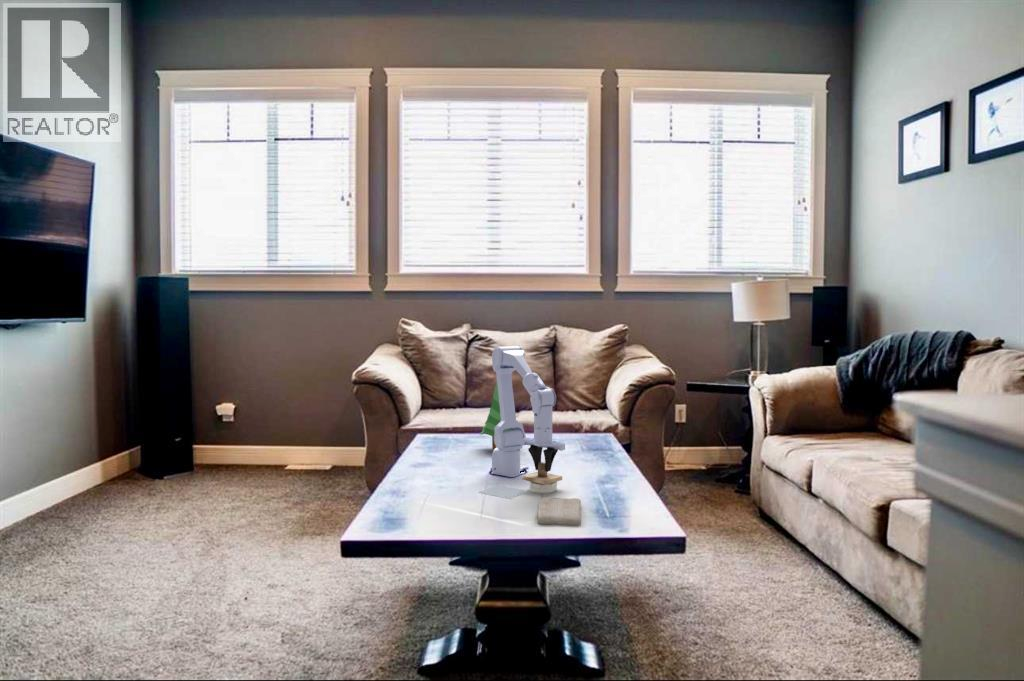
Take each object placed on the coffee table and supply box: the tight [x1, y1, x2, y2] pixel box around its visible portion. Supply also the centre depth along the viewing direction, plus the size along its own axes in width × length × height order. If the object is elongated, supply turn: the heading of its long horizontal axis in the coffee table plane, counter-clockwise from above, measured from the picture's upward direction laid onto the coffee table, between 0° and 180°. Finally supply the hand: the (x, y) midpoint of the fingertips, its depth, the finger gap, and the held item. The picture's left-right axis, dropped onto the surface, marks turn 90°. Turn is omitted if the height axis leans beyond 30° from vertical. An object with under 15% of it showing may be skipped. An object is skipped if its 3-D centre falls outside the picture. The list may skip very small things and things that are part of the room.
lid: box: [521, 461, 563, 485], centre depth 200 cm, size 9×9×5 cm
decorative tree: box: [479, 380, 514, 451], centre depth 255 cm, size 14×16×30 cm
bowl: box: [528, 481, 558, 494], centre depth 201 cm, size 8×8×3 cm
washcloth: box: [537, 496, 582, 526], centre depth 180 cm, size 12×18×3 cm, turn 175°
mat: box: [478, 484, 529, 500], centre depth 198 cm, size 12×10×1 cm
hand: (543, 470), depth 201 cm, fingers open, 3 cm apart
